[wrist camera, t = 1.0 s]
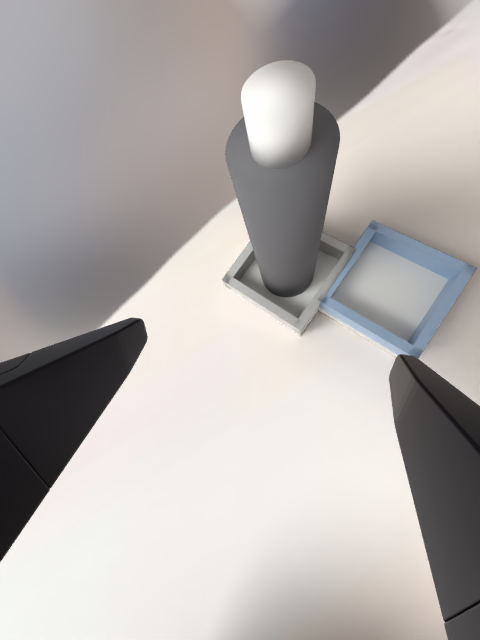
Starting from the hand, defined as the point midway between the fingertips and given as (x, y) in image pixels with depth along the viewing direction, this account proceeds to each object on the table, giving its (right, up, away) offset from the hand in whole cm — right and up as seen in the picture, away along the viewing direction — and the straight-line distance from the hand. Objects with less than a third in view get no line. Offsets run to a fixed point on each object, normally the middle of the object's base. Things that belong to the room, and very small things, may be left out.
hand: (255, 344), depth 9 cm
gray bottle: (+4, +5, +14) cm, 15 cm away
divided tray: (+7, +3, +13) cm, 15 cm away
